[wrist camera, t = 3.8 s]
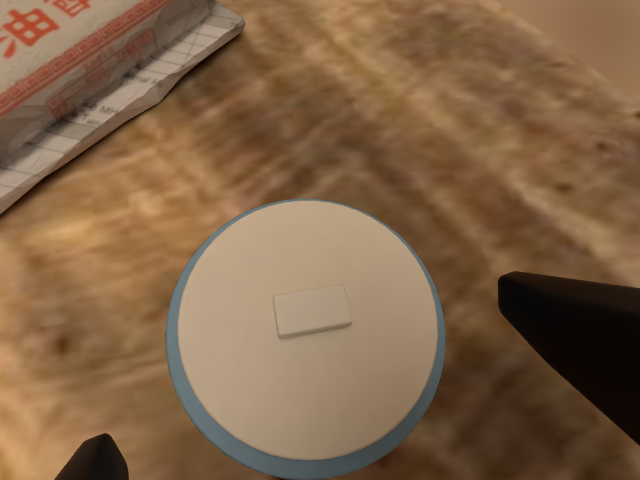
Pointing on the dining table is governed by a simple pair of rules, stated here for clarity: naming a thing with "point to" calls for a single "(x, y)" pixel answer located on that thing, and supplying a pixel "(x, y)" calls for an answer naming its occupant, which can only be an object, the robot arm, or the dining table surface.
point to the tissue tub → (305, 339)
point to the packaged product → (90, 73)
